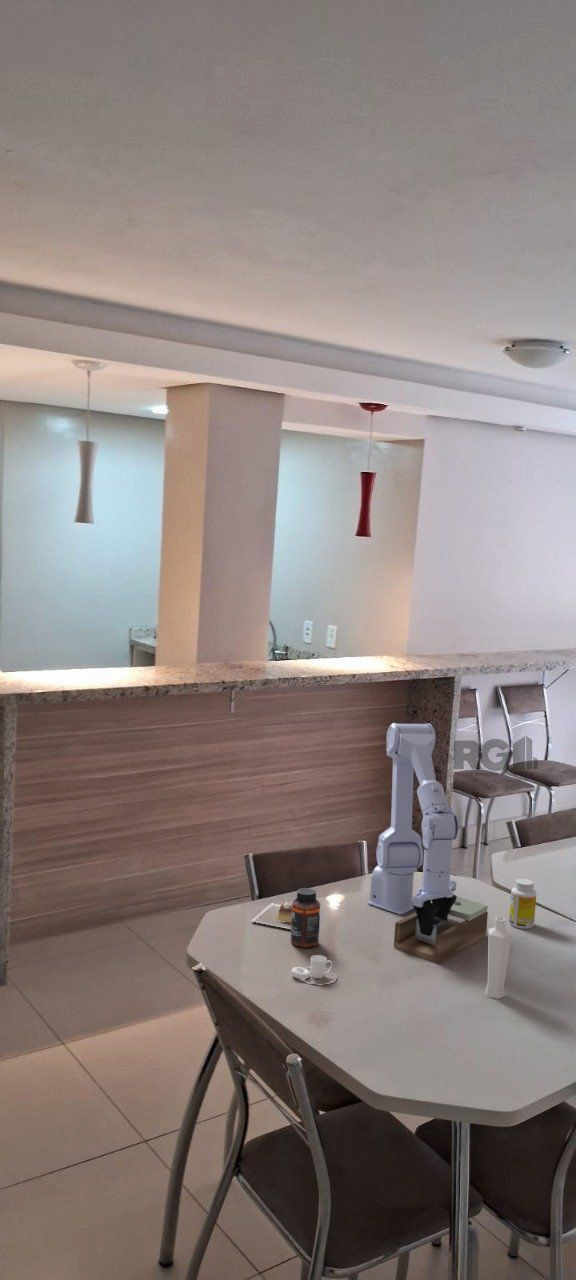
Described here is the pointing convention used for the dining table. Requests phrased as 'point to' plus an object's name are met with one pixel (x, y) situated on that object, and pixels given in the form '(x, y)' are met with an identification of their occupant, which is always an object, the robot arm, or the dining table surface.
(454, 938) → the housing
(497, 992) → the perfume bottle
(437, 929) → the grey hollow square block
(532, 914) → the supplement bottle
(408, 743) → the robot arm
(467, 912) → the cover
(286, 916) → the dessert
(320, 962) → the teacup and saucer
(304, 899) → the supplement bottle
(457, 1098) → the dining table surface
